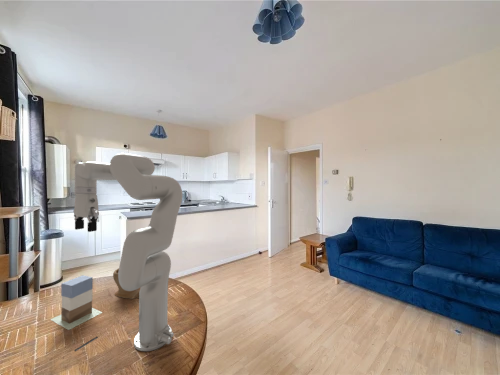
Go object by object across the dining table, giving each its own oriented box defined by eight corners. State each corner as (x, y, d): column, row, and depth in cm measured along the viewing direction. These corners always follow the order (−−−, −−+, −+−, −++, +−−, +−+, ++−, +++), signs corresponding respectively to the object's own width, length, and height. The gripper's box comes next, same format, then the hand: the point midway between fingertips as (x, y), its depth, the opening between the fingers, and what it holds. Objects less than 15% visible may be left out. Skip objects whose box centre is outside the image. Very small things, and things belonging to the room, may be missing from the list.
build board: (102, 315, 88) (102, 312, 88) (68, 333, 77) (68, 330, 77) (84, 306, 94) (84, 304, 94) (50, 322, 83) (50, 319, 83)
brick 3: (91, 312, 88) (92, 300, 88) (69, 323, 81) (69, 311, 81) (84, 308, 91) (84, 297, 91) (61, 319, 83) (61, 307, 83)
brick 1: (92, 288, 89) (92, 277, 88) (71, 298, 81) (71, 285, 81) (82, 286, 90) (82, 275, 90) (61, 295, 83) (61, 283, 83)
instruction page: (98, 337, 75) (98, 337, 75) (75, 351, 69) (75, 351, 69) (84, 330, 79) (84, 329, 79) (61, 342, 73) (61, 342, 73)
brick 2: (92, 300, 88) (92, 289, 88) (70, 311, 81) (70, 298, 81) (84, 297, 91) (84, 286, 91) (61, 307, 83) (61, 295, 83)
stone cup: (107, 299, 100) (107, 269, 100) (128, 288, 111) (128, 260, 111) (131, 305, 96) (131, 273, 95) (150, 292, 107) (150, 264, 107)
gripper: (106, 191, 89) (106, 230, 90) (84, 190, 97) (84, 226, 97) (87, 191, 83) (87, 234, 83) (64, 191, 90) (64, 229, 90)
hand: (85, 230), depth 90 cm, fingers open, 9 cm apart
